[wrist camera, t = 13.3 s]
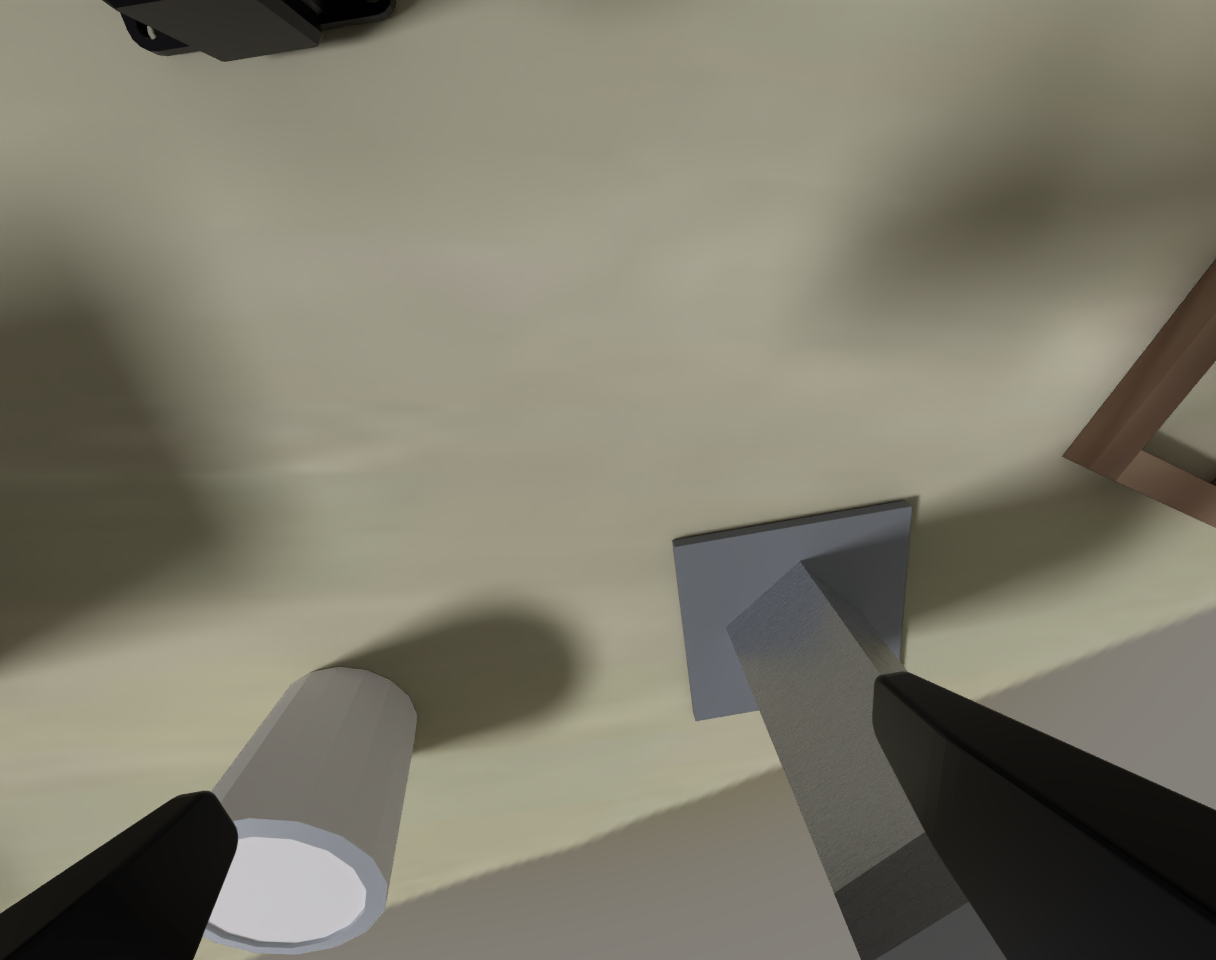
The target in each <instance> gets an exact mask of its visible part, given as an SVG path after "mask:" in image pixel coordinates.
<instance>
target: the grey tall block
mask: <svg viewBox="0 0 1216 960" xmlns="http://www.w3.org/2000/svg"><path fill="white" fill-rule="evenodd" d="M726 630H727V632H728V635H729V637H730V639H731V642H732V644H733V647H734V649H735V652H736V654H737V657H738V659H739V662H740V664H741V666H742V669H743V671H744V674H745V676H746V679H747V681H748V684H749V686H750V689H751V691H752V693H753V696H754V698H755V701H756V703H757V706H758V708H759V711H760V713H761V715H762V718H763V720H764V723H765V725H766V728H767V730H768V733H769V735H770V738H771V740H772V742H773V745H774V747H775V750H776V752H777V755H778V757H779V760H780V762H781V765H782V767H783V769H784V772H785V774H786V777H787V779H788V782H789V784H790V787H791V789H792V791H793V794H794V796H795V799H796V801H797V804H798V806H799V809H800V811H801V813H802V816H803V818H804V821H805V823H806V826H807V828H808V831H809V833H810V836H811V838H812V841H813V843H814V845H815V848H816V850H817V853H818V855H819V857H820V860H821V863H822V865H823V867H824V870H825V872H826V875H827V877H828V880H829V882H830V884H831V887H832V889H833V892H834V894H835V897H836V899H837V902H838V904H839V907H840V909H841V911H842V914H843V917H844V919H845V921H846V924H847V926H848V929H849V931H850V934H851V936H852V938H853V941H854V943H855V946H856V948H857V951H858V953H859V955H860V958H861V960H1007V959H1006V958H1005V956H1004V955H1003V953H1002V952H1001V950H1000V949H999V947H998V946H997V944H996V942H995V941H994V939H993V938H992V936H991V935H990V933H989V932H988V930H987V929H986V927H985V926H984V924H983V923H982V921H981V920H980V918H979V916H978V915H977V913H976V912H975V910H974V909H973V907H972V906H971V904H970V903H969V901H968V900H967V898H966V897H965V895H964V894H963V892H962V890H961V889H960V887H959V886H958V884H957V883H956V881H955V880H954V878H953V877H952V875H951V874H950V872H949V871H948V869H947V868H946V866H945V865H944V863H943V861H942V860H941V858H940V856H939V855H938V853H937V852H936V850H935V848H934V847H933V845H932V843H931V842H930V840H929V838H928V836H927V834H926V833H925V831H924V829H923V827H922V825H921V823H920V821H919V819H918V818H917V816H916V814H915V812H914V810H913V808H912V806H911V804H910V802H909V800H908V798H907V796H906V794H905V793H904V791H903V789H902V787H901V785H900V783H899V781H898V779H897V777H896V775H895V773H894V771H893V769H892V768H891V766H890V764H889V762H888V760H887V758H886V756H885V754H884V752H883V750H882V748H881V746H880V744H879V742H878V740H877V738H876V735H875V733H874V729H873V724H872V708H873V691H874V681H875V679H876V678H877V677H878V676H879V675H883V674H889V673H895V672H901V671H905V672H908V671H907V670H906V669H905V667H904V666H903V665H902V664H901V662H900V661H899V660H898V658H897V657H896V656H895V654H894V653H893V652H892V651H891V649H890V648H889V647H888V645H887V644H886V643H885V642H884V640H883V639H882V638H881V636H880V635H879V634H878V633H877V631H876V630H875V629H874V627H873V626H872V625H871V624H870V622H869V621H868V620H867V618H866V617H865V616H864V615H863V613H862V612H860V611H859V610H858V609H857V608H856V607H854V606H853V605H852V604H851V603H850V602H848V601H847V600H846V599H845V598H844V597H842V596H841V595H840V594H839V593H838V592H836V591H835V590H834V589H833V588H832V587H830V586H829V585H828V584H827V583H826V582H824V581H823V580H822V579H821V578H820V577H818V576H817V575H816V574H815V573H814V572H812V571H811V570H810V569H809V568H808V567H806V566H805V565H804V564H803V563H802V562H800V561H799V562H798V563H797V564H796V565H795V566H794V567H792V568H791V569H790V570H789V571H788V572H787V573H786V574H785V575H784V576H782V577H781V578H780V579H779V580H778V581H777V582H776V583H775V584H773V585H772V586H771V587H770V588H769V589H768V590H767V591H766V592H764V593H763V594H762V595H761V596H760V597H759V598H758V599H757V600H756V601H754V602H753V603H752V604H751V605H750V606H749V607H748V608H747V609H745V610H744V611H743V612H742V613H741V614H740V615H739V616H738V617H737V618H735V619H734V620H733V621H732V622H731V623H730V624H729V625H728V626H726Z"/></svg>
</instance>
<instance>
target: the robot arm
mask: <svg viewBox="0 0 1216 960" xmlns="http://www.w3.org/2000/svg"><path fill="white" fill-rule="evenodd" d="M103 1H104V2H105V3H107V4H108V5H109V6H111V7H112V8H114V9H115V10H116V11H119V12H120V13H121V16H122V18H123V21H124V23H125V26H126V28H127V30H128V32H129V34H130V35H131V37H132V39H133V40H134V41H135V42H136V43H137V44H138V45H139V46H140V47H142V48H144V49H146V50H148V51H150V52H153V53H155V54H157V55H161V56H171V55H177V54H183V53H189V52H195V51H201V52H204V53H206V54H208V55H210V56H212V57H214V58H216V59H218V60H220V61H223V62H227V61H233V60H239V59H245V58H251V57H257V56H263V55H269V54H275V53H281V52H287V51H293V50H299V49H305V48H311V47H316V46H318V45H319V43H320V41H321V39H322V38H323V32H322V30H327V29H333V28H339V27H345V26H351V25H357V24H363V23H369V22H375V21H381V20H384V19H386V18H388V17H390V15H391V14H392V13H393V12H394V9H395V5H396V0H379V1H377V2H375V3H371V2H368V1H367V0H103ZM147 25H148V26H150V27H152V28H154V29H156V30H158V31H159V34H158V37H157V38H155V39H153V40H152V39H151V37H150V36H149V34H148V31H147ZM872 724H873V729H874V733H875V735H876V738H877V740H878V742H879V744H880V746H881V748H882V750H883V752H884V754H885V756H886V758H887V760H888V762H889V764H890V766H891V768H892V769H893V771H894V773H895V775H896V777H897V779H898V781H899V783H900V785H901V787H902V789H903V791H904V793H905V794H906V796H907V798H908V800H909V802H910V804H911V806H912V808H913V810H914V812H915V814H916V816H917V818H918V819H919V821H920V823H921V825H922V827H923V829H924V831H925V833H926V834H927V836H928V838H929V840H930V842H931V843H932V845H933V847H934V848H935V850H936V852H937V853H938V855H939V856H940V858H941V860H942V861H943V863H944V865H945V866H946V868H947V869H948V871H949V872H950V874H951V875H952V877H953V878H954V880H955V881H956V883H957V884H958V886H959V887H960V889H961V890H962V892H963V894H964V895H965V897H966V898H967V900H968V901H969V903H970V904H971V906H972V907H973V909H974V910H975V912H976V913H977V915H978V916H979V918H980V920H981V921H982V923H983V924H984V926H985V927H986V929H987V930H988V932H989V933H990V935H991V936H992V938H993V939H994V941H995V942H996V944H997V946H998V947H999V949H1000V950H1001V952H1002V953H1003V955H1004V956H1005V958H1006V959H1007V960H1216V810H1214V809H1212V808H1210V807H1208V806H1205V805H1203V804H1201V803H1198V802H1197V801H1194V800H1192V799H1190V798H1188V797H1185V796H1183V795H1181V794H1179V793H1177V792H1174V791H1172V790H1170V789H1167V788H1165V787H1163V786H1161V785H1159V784H1157V783H1154V782H1152V781H1150V780H1148V779H1145V778H1143V777H1141V776H1139V775H1136V774H1134V773H1132V772H1130V771H1128V770H1125V769H1123V768H1121V767H1119V766H1116V765H1114V764H1112V763H1110V762H1108V761H1105V760H1103V759H1101V758H1099V757H1096V756H1094V755H1092V754H1090V753H1087V752H1085V751H1083V750H1081V749H1079V748H1076V747H1074V746H1072V745H1070V744H1067V743H1065V742H1063V741H1061V740H1059V739H1056V738H1054V737H1052V736H1050V735H1047V734H1045V733H1043V732H1041V731H1038V730H1036V729H1034V728H1032V727H1030V726H1027V725H1025V724H1023V723H1021V722H1019V721H1016V720H1014V719H1012V718H1009V717H1007V716H1005V715H1003V714H1001V713H999V712H996V711H994V710H992V709H990V708H987V707H985V706H983V705H981V704H978V703H976V702H974V701H972V700H970V699H967V698H965V697H963V696H961V695H958V694H956V693H954V692H952V691H950V690H947V689H945V688H943V687H941V686H938V685H936V684H934V683H932V682H930V681H927V680H925V679H923V678H921V677H918V676H916V675H914V674H912V673H909V672H905V671H901V672H895V673H889V674H883V675H879V676H878V677H877V678H876V679H875V681H874V691H873V708H872ZM237 845H238V831H237V828H236V826H235V824H234V822H233V821H232V819H231V818H230V816H229V815H228V813H227V812H226V810H225V809H224V807H223V806H222V804H221V803H220V801H219V800H218V798H217V796H216V795H215V794H214V793H212V792H210V791H199V792H194V793H188V794H182V795H179V796H176V797H175V798H173V799H171V800H169V801H168V802H166V803H165V804H163V805H162V806H160V807H159V808H157V809H156V810H154V811H153V812H151V813H150V814H148V815H147V816H145V817H144V818H142V819H141V820H139V821H138V822H136V823H135V824H133V825H132V826H130V827H129V828H127V829H126V830H124V831H123V832H121V833H120V834H118V835H117V836H116V837H114V838H113V839H111V840H110V841H108V842H107V843H105V844H104V845H102V846H101V847H99V848H98V849H96V850H95V851H93V852H92V853H90V854H89V855H87V856H86V857H84V858H83V859H81V860H80V861H78V862H77V863H75V864H74V865H72V866H71V867H69V868H68V869H66V870H65V871H63V872H62V873H60V874H59V875H57V876H56V877H54V878H53V879H51V880H50V881H48V882H47V883H45V884H44V885H42V886H41V887H39V888H38V889H36V890H35V891H33V892H32V893H30V894H29V895H27V896H26V897H24V898H23V899H21V900H20V901H18V902H17V903H15V904H14V905H12V906H11V907H9V908H8V909H6V910H5V911H3V912H2V913H0V960H193V959H194V956H195V954H196V952H197V949H198V947H199V944H200V941H201V939H202V936H203V934H204V931H205V929H206V926H207V924H208V921H209V919H210V916H211V914H212V911H213V909H214V906H215V904H216V901H217V899H218V896H219V894H220V891H221V889H222V886H223V884H224V881H225V879H226V876H227V873H228V871H229V868H230V866H231V863H232V861H233V858H234V856H235V853H236V850H237Z"/></svg>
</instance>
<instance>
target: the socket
mask: <svg viewBox="0 0 1216 960" xmlns="http://www.w3.org/2000/svg"><path fill="white" fill-rule="evenodd" d="M1215 361H1216V260H1215V262H1214V263H1213V264H1212V265H1211V267H1210V268H1209V269H1208V271H1207V272H1206V273H1205V274H1204V276H1203V277H1202V278H1201V280H1200V281H1199V282H1198V283H1197V285H1196V286H1195V287H1194V288H1193V290H1192V291H1191V292H1190V294H1189V295H1188V296H1187V297H1186V299H1185V300H1184V301H1183V303H1182V304H1181V305H1180V306H1179V308H1178V309H1177V310H1176V312H1175V313H1174V314H1173V315H1172V317H1171V318H1170V319H1169V321H1168V322H1167V323H1166V324H1165V326H1164V327H1163V328H1162V330H1161V331H1160V332H1159V333H1158V335H1157V336H1156V337H1155V338H1154V340H1153V341H1152V342H1151V344H1150V345H1149V346H1148V347H1147V349H1146V350H1145V351H1144V353H1143V354H1142V355H1141V356H1140V358H1139V359H1138V360H1137V362H1136V363H1135V364H1134V365H1133V367H1132V368H1131V369H1130V371H1129V372H1128V373H1127V374H1126V376H1125V377H1124V378H1123V380H1122V381H1121V382H1120V383H1119V385H1118V386H1117V387H1116V388H1115V390H1114V391H1113V392H1112V394H1111V395H1110V396H1109V397H1108V399H1107V400H1106V401H1105V403H1104V404H1103V405H1102V406H1101V408H1100V409H1099V410H1098V412H1097V413H1096V414H1095V415H1094V417H1093V418H1092V419H1091V421H1090V422H1089V423H1088V424H1087V426H1086V427H1085V428H1084V430H1083V431H1082V432H1081V433H1080V435H1079V436H1078V437H1077V439H1076V440H1075V441H1074V442H1073V444H1072V445H1071V446H1070V447H1069V449H1068V450H1067V451H1066V453H1065V454H1064V455H1063V456H1062V457H1064V458H1066V459H1069V460H1071V461H1073V462H1075V463H1077V464H1079V465H1082V466H1084V467H1086V468H1088V469H1090V470H1092V471H1094V472H1097V473H1099V474H1101V475H1103V476H1105V477H1107V478H1110V479H1112V480H1114V481H1116V482H1118V483H1120V484H1122V485H1125V486H1127V487H1129V488H1131V489H1133V490H1135V491H1138V492H1140V493H1142V494H1144V495H1146V496H1148V497H1150V498H1153V499H1155V500H1157V501H1159V502H1161V503H1163V504H1166V505H1168V506H1170V507H1172V508H1174V509H1176V510H1178V511H1181V512H1183V513H1185V514H1187V515H1189V516H1191V517H1194V518H1196V519H1198V520H1200V521H1202V522H1204V523H1207V524H1209V525H1211V526H1213V527H1215V528H1216V479H1215V481H1214V482H1213V483H1212V484H1210V483H1208V482H1206V481H1204V480H1202V479H1200V478H1198V477H1196V476H1194V475H1191V474H1189V473H1187V472H1185V471H1183V470H1181V469H1179V468H1177V467H1175V466H1173V465H1171V464H1169V463H1167V462H1165V461H1163V460H1161V459H1159V458H1157V457H1155V456H1153V455H1151V454H1148V453H1146V452H1144V451H1142V449H1143V447H1144V446H1145V445H1146V444H1147V443H1148V441H1149V440H1150V439H1151V438H1152V437H1153V435H1154V434H1155V433H1156V432H1157V431H1158V429H1159V428H1160V427H1161V426H1162V425H1163V423H1164V422H1165V421H1166V420H1167V419H1168V417H1169V416H1170V415H1171V414H1172V413H1173V411H1174V410H1175V409H1176V408H1177V407H1178V405H1179V404H1180V403H1181V402H1182V401H1183V399H1184V398H1185V397H1186V396H1187V395H1188V393H1189V392H1190V391H1191V390H1192V388H1193V387H1194V386H1195V385H1196V384H1197V382H1198V381H1199V380H1200V379H1201V378H1202V376H1203V375H1204V374H1205V373H1206V372H1207V370H1208V369H1209V368H1210V367H1211V366H1212V364H1213V363H1214V362H1215Z"/></svg>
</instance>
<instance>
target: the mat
mask: <svg viewBox="0 0 1216 960" xmlns="http://www.w3.org/2000/svg"><path fill="white" fill-rule="evenodd" d="M911 514H912V506H911V505H910V504H909V503H907V502H906V501H899V502H893V503H887V504H881V505H875V506H870V507H864V508H858V509H852V510H846V511H840V512H835V513H829V514H823V515H817V516H811V517H805V518H800V519H794V520H788V521H782V522H776V523H770V524H765V525H759V526H753V527H747V528H741V529H735V530H730V531H724V532H718V533H712V534H706V535H700V536H695V537H689V538H683V539H677V540H672V543H673V551H674V559H675V567H676V576H677V584H678V592H679V600H680V608H681V617H682V625H683V633H684V641H685V649H686V658H687V666H688V674H689V682H690V690H691V698H692V707H693V713H694V717H695V721H700V720H706V719H711V718H717V717H723V716H729V715H734V714H740V713H746V712H752V711H758V710H759V708H758V706H757V703H756V701H755V698H754V696H753V693H752V691H751V689H750V686H749V684H748V681H747V679H746V676H745V674H744V671H743V669H742V666H741V664H740V662H739V659H738V657H737V654H736V652H735V649H734V647H733V644H732V642H731V639H730V637H729V635H728V632H727V630H726V626H728V625H729V624H730V623H731V622H732V621H733V620H734V619H735V618H737V617H738V616H739V615H740V614H741V613H742V612H743V611H744V610H745V609H747V608H748V607H749V606H750V605H751V604H752V603H753V602H754V601H756V600H757V599H758V598H759V597H760V596H761V595H762V594H763V593H764V592H766V591H767V590H768V589H769V588H770V587H771V586H772V585H773V584H775V583H776V582H777V581H778V580H779V579H780V578H781V577H782V576H784V575H785V574H786V573H787V572H788V571H789V570H790V569H791V568H792V567H794V566H795V565H796V564H797V563H798V562H799V561H800V562H802V563H803V564H804V565H805V566H806V567H808V568H809V569H810V570H811V571H812V572H814V573H815V574H816V575H817V576H818V577H820V578H821V579H822V580H823V581H824V582H826V583H827V584H828V585H829V586H830V587H832V588H833V589H834V590H835V591H836V592H838V593H839V594H840V595H841V596H842V597H844V598H845V599H846V600H847V601H848V602H850V603H851V604H852V605H853V606H854V607H856V608H857V609H858V610H859V611H860V612H862V613H863V615H864V616H865V617H866V618H867V620H868V621H869V622H870V624H871V625H872V626H873V627H874V629H875V630H876V631H877V633H878V634H879V635H880V636H881V638H882V639H883V640H884V642H885V643H886V644H887V645H888V647H889V648H890V649H891V651H892V652H893V653H894V654H895V656H896V657H897V658H898V660H899V661H900V649H901V637H902V624H903V612H904V600H905V588H906V575H907V563H908V551H909V539H910V526H911Z"/></svg>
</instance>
